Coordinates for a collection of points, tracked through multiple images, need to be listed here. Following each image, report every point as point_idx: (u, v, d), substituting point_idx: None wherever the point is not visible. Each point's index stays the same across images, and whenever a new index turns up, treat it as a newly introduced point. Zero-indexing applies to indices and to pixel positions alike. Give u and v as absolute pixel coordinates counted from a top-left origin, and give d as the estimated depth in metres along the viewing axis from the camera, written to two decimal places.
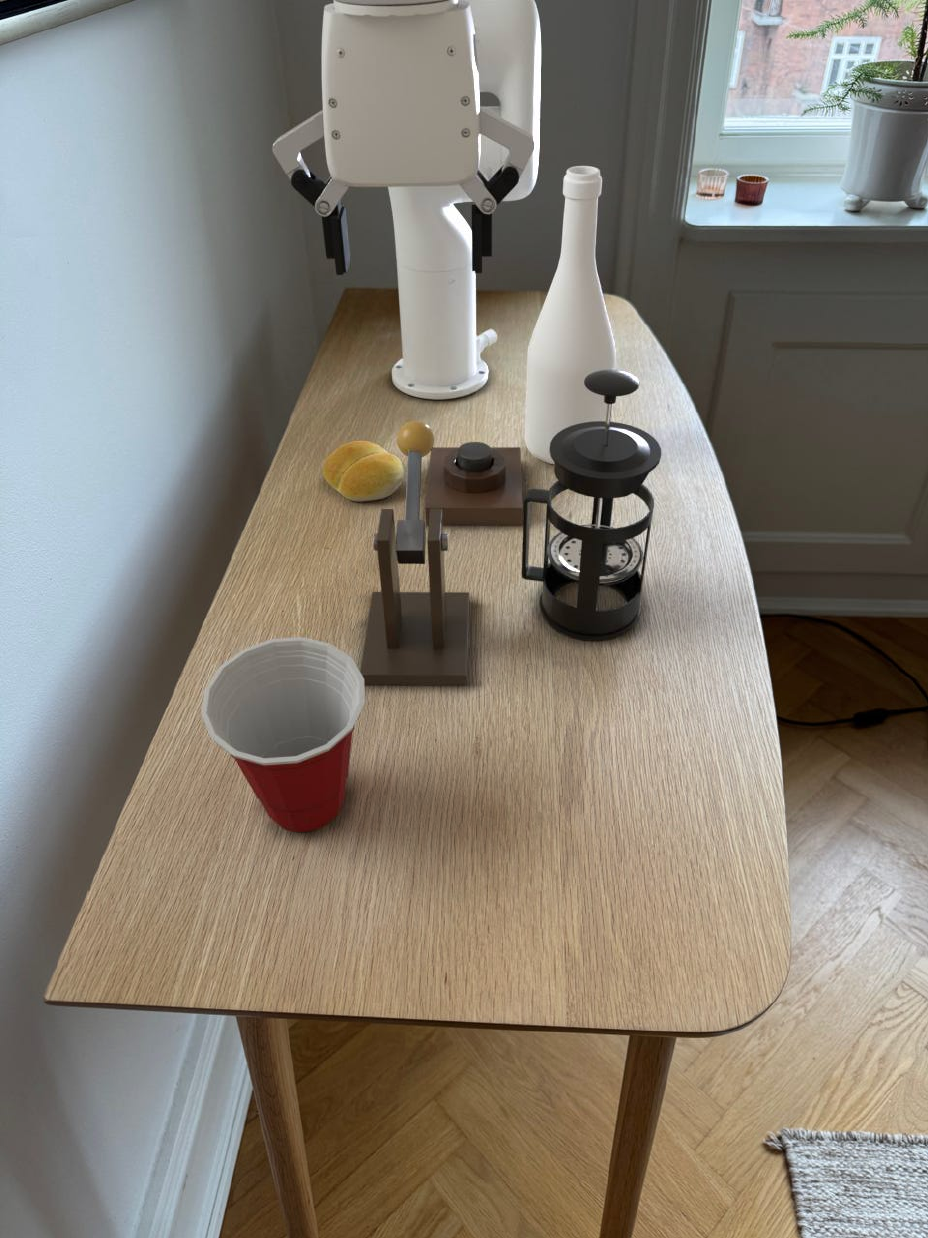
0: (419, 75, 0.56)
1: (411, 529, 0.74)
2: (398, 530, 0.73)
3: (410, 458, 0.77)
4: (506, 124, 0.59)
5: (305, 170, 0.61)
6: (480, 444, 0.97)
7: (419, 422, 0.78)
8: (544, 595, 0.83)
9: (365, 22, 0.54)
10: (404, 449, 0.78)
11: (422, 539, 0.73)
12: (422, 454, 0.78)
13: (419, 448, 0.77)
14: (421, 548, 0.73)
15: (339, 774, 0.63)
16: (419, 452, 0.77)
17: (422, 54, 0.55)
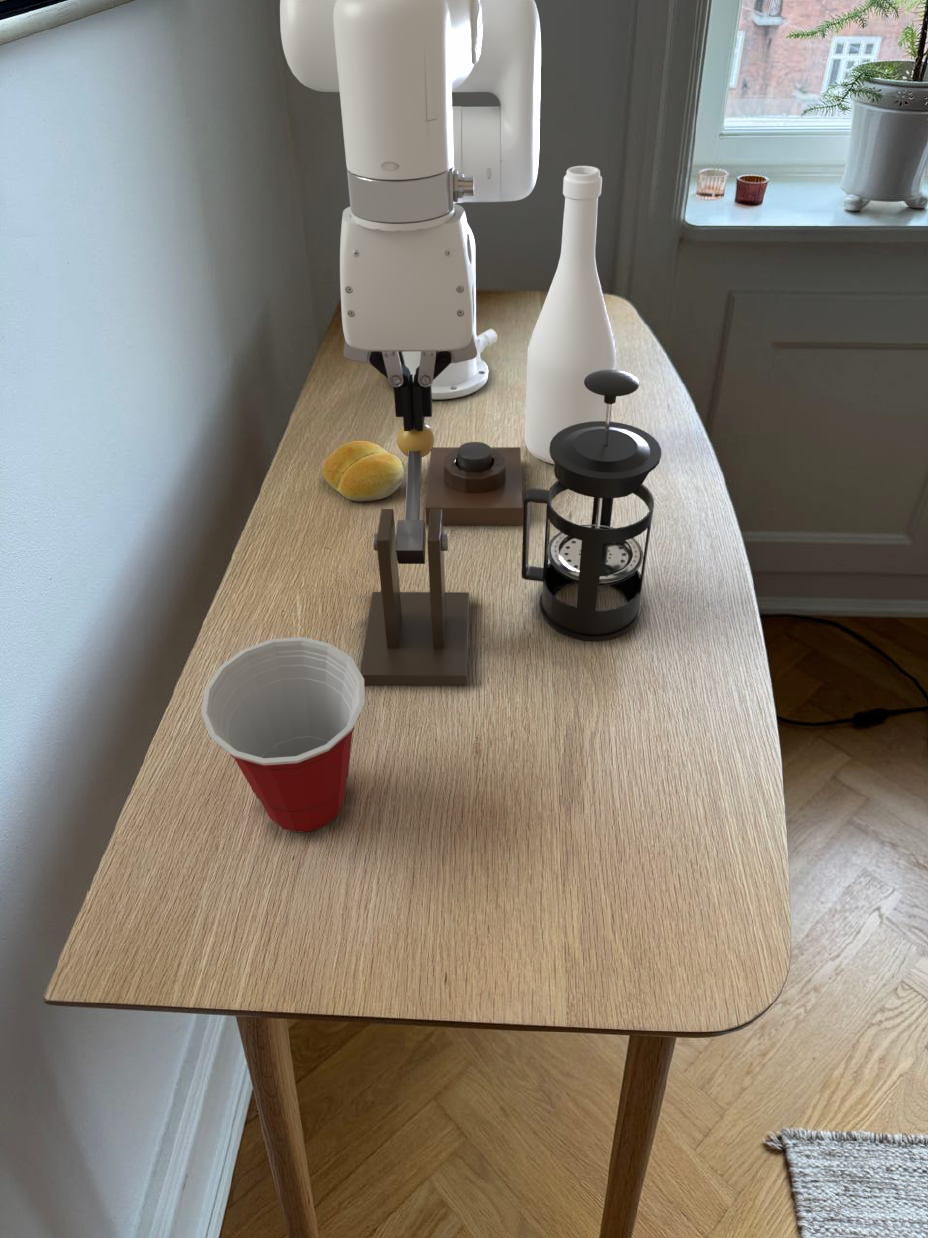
0: (421, 271, 0.67)
1: (411, 529, 0.74)
2: (398, 530, 0.73)
3: (410, 458, 0.77)
4: None
5: None
6: (480, 444, 0.97)
7: None
8: (544, 595, 0.83)
9: (376, 231, 0.65)
10: (404, 449, 0.78)
11: (422, 539, 0.73)
12: (422, 454, 0.78)
13: (419, 448, 0.77)
14: (421, 548, 0.73)
15: (339, 774, 0.63)
16: (419, 452, 0.77)
17: (424, 255, 0.66)
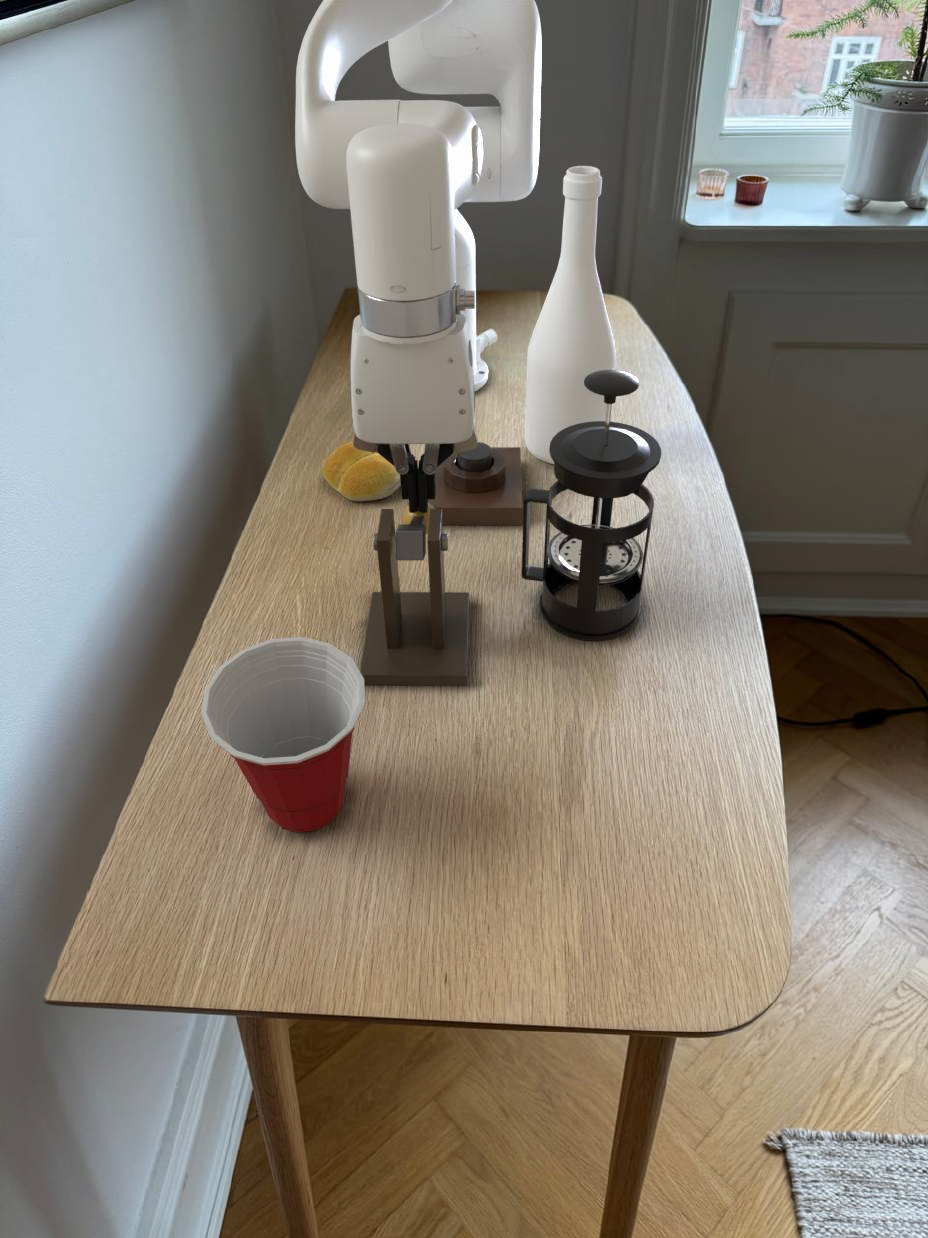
0: (426, 376, 0.72)
1: (412, 526, 0.75)
2: (399, 526, 0.74)
3: (414, 517, 0.82)
4: None
5: None
6: (480, 444, 0.97)
7: None
8: (544, 595, 0.83)
9: (385, 342, 0.70)
10: (409, 517, 0.83)
11: (423, 529, 0.74)
12: (426, 522, 0.83)
13: (423, 513, 0.82)
14: (421, 530, 0.73)
15: (339, 774, 0.63)
16: (423, 516, 0.82)
17: (428, 363, 0.71)
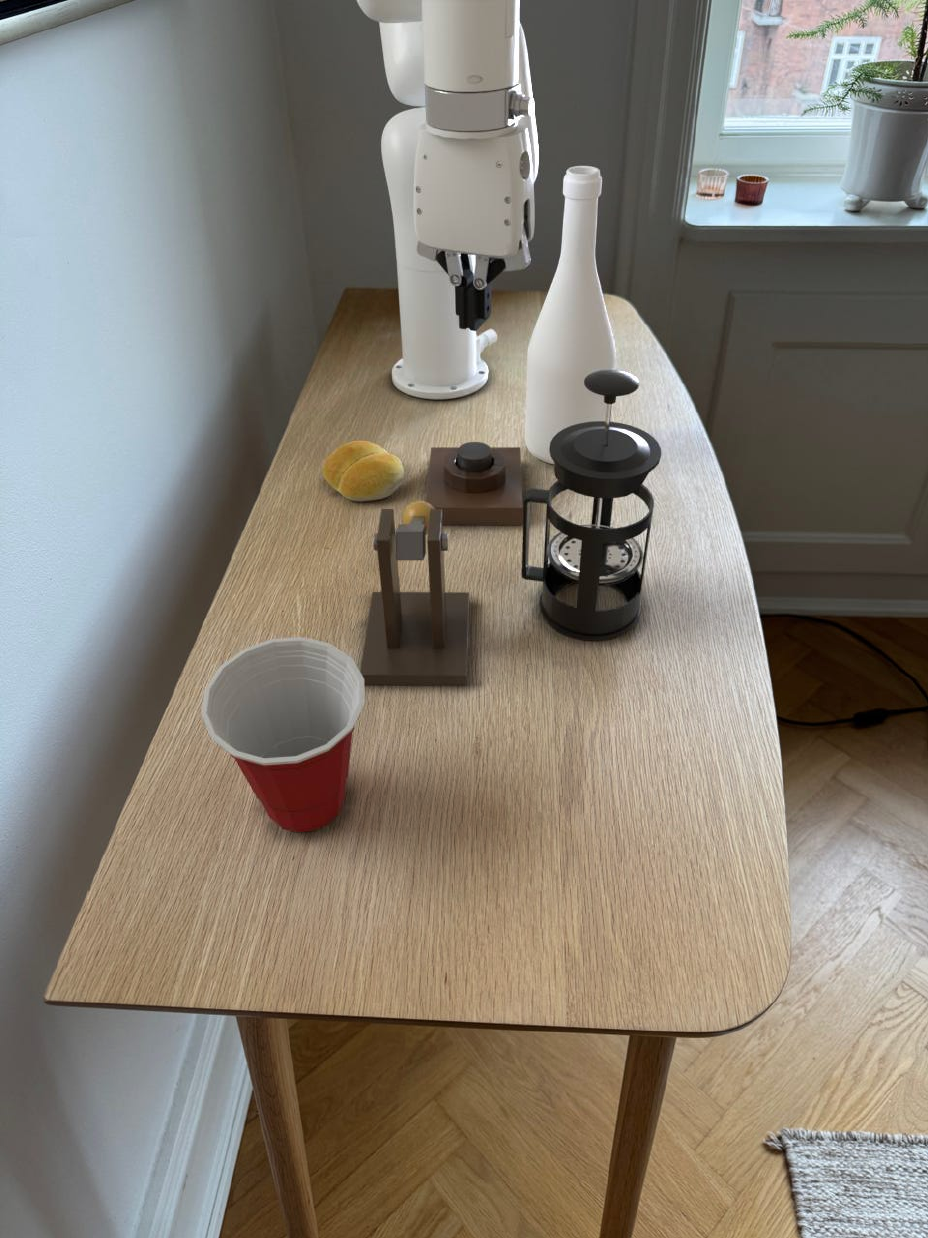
0: (475, 178, 0.76)
1: (412, 526, 0.75)
2: (399, 526, 0.74)
3: (414, 517, 0.82)
4: (522, 241, 0.80)
5: None
6: (480, 444, 0.97)
7: None
8: (544, 595, 0.83)
9: (440, 138, 0.75)
10: (409, 517, 0.83)
11: (423, 528, 0.74)
12: (426, 522, 0.83)
13: (423, 514, 0.82)
14: (421, 530, 0.73)
15: (339, 774, 0.63)
16: (423, 516, 0.82)
17: (477, 164, 0.75)
